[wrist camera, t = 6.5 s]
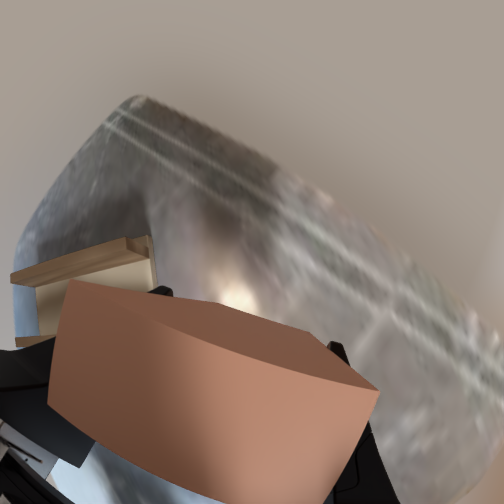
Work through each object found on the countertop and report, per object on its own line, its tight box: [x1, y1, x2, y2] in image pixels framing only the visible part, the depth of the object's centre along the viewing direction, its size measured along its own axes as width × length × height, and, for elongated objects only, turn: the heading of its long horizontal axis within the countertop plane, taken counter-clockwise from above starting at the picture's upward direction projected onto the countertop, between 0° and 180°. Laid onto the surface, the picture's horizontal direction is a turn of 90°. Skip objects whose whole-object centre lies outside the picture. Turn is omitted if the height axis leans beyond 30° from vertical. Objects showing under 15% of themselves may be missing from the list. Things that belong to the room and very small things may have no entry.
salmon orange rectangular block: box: [47, 279, 380, 504], centre depth 9 cm, size 3×6×12 cm, turn 72°
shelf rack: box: [10, 235, 158, 347], centre depth 22 cm, size 10×16×5 cm, turn 101°
